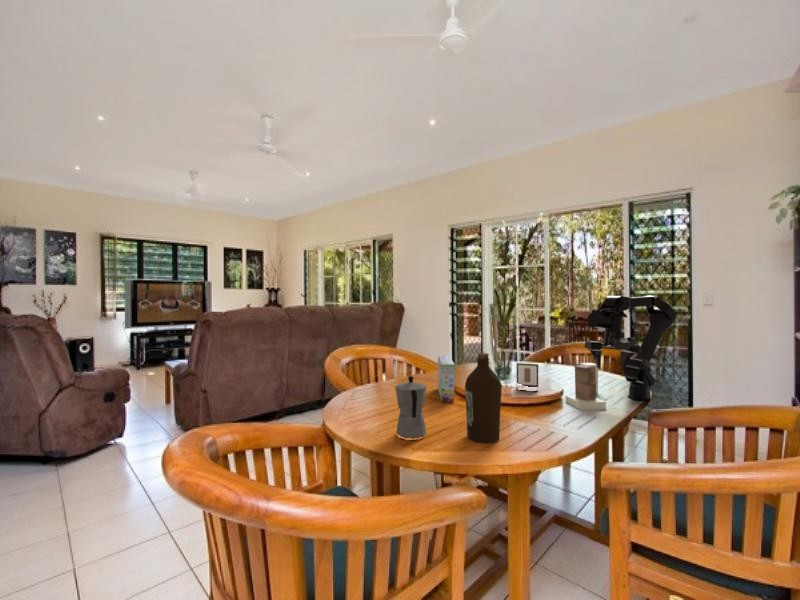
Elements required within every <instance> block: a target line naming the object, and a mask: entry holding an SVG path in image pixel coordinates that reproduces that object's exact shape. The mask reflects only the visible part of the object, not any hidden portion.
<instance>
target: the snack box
mask: <svg viewBox="0 0 800 600" xmlns="http://www.w3.org/2000/svg"><path fill="white" fill-rule="evenodd" d="M437 357H438V359H437V389H438V390H437V391H438V393H439V398H440V401H441V402H442V403H455V385H456V384H455V383H456V381H455V380H456V379H455V378H456V377H455V375H456V364H455V363H454V361H453V360H452V357H451V356H450V355H438V356H437Z"/></svg>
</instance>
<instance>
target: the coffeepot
mask: <svg viewBox="0 0 800 600" xmlns="http://www.w3.org/2000/svg"><path fill="white" fill-rule="evenodd" d="M407 378H408V381H405V382H402V383H398V384H397V385H396V386H395V387H394V388H395V394H396V400H397V407H398V409H399V415H398V420H397V424H396V425H397V427H396V431H395V432H396V433H397V434H398V435H400V436H401V437H404V438H412V439H414V438H419V437H424V435H425V434H426V435H427V429H426V425H425V419H424V418H425V417H424V413H423V408H424V405H425V397H426V390H427V385H425V384H423V383H421V382H416V381H415V382H414V376H412V375H409V376H408V377H407ZM396 433H395V434H396ZM426 435H425V436H426ZM424 438H425V437H424Z"/></svg>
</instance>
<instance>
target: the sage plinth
mask: <svg viewBox="0 0 800 600" xmlns="http://www.w3.org/2000/svg"><path fill="white" fill-rule="evenodd" d="M565 403H567V404H569V405H571V406H572V407H574V408H576V409H577V410H580V411H581V410H582V411H583V410H584V411H586V410H606V409H607V401H605V400H602V399H601V398H598V397H596V399H593V400H588V401H586V400H582V399H579V398H576V396H575V394H572V395H568V394H567V395H565Z"/></svg>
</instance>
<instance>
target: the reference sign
mask: <svg viewBox="0 0 800 600" xmlns="http://www.w3.org/2000/svg"><path fill="white" fill-rule="evenodd" d="M517 383H518V384H522V385H524V386H528V387H538V388H539V363H525V362H524V363H522V362H516V384H517Z"/></svg>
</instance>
